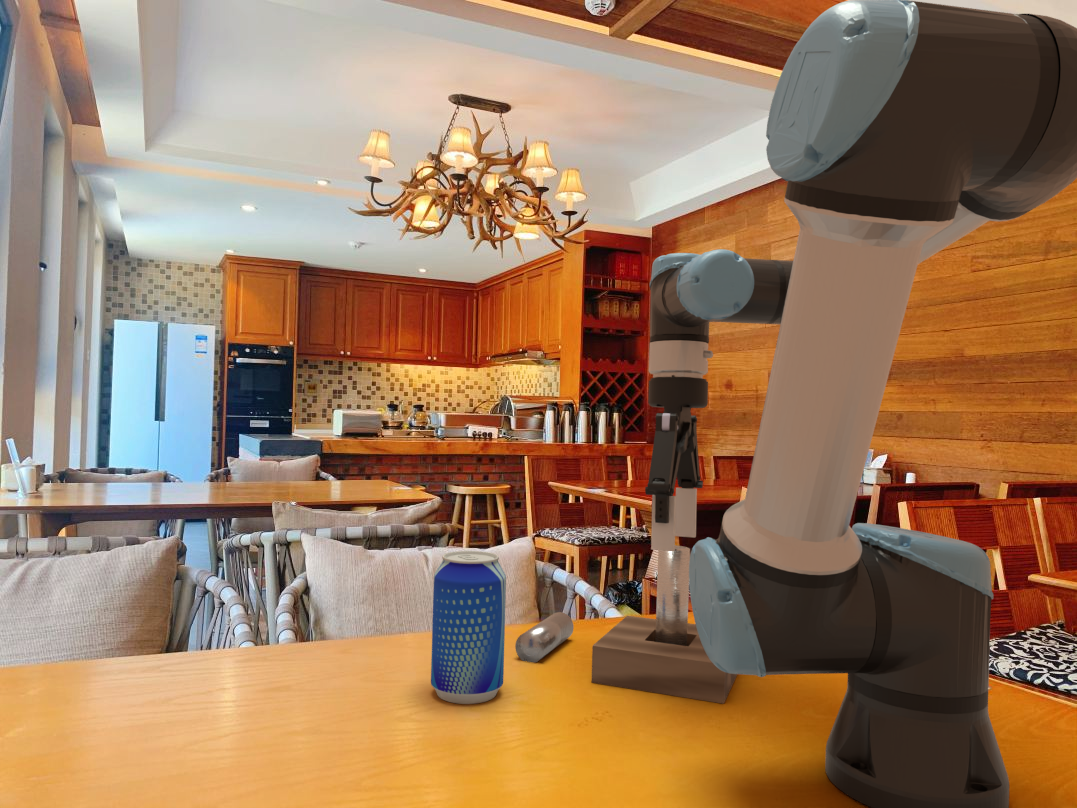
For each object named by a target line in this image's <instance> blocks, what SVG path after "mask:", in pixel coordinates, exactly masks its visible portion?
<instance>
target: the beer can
mask: <svg viewBox="0 0 1077 808" xmlns="http://www.w3.org/2000/svg"><path fill="white" fill-rule="evenodd" d="M499 559H500V556H499V555H498V554H497V553H493V552H489V551H482V550H459V551H456V550H455V551H450V552H447V553H444V554H443V555H442V561H441V563H440V564H439V566H438V567H437V569H436V571H435V572H434V574H433V590H432V591H433V592H432V593H433V594H432V596H433V597H432V628H431V629H432V630H431V631H432V632H431V634H432V635H431V660H430V661H431V663H430V665H431V667H430V671H431V672H430V685H431V687H432V688H433V689H434V690H435V692H436V694H437V697H438V698H439V699H441V700H442V701H445V702H448V703H452V704H458V705H459V704H460V705H461V704H462V705H473V704H479V703H485V702H488V701H490V700H492V699H494V698H495V697H496V696H497V694H498V691H499V690H500V689H501V688H502V686H503V685H504V672H505V671H504V670H505V669H504V667H505V666H504V665H505V636H506V633H505V630H506V629H505V628H506V599H507V598H506V597H507V595H506V594H507V574H506V572H505V570H504V569H503V567H502V565H501V563H500V561H499Z"/></svg>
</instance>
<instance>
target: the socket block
mask: <svg viewBox="0 0 1077 808" xmlns="http://www.w3.org/2000/svg"><path fill="white" fill-rule="evenodd" d="M655 638H656V618H649V617H641V616H633V615H626V616H625V617H624V618H622V620H620V621H619V622H618V623H617V624H616V625H615V626H613V628H611V629H609V631H608V632H607V633H605V634H603V636H602V637H600V639H598V640H597V641H596V642H595V643H593V645H592V648H591V649H592V651H591V653H592V655H591V683H592V684H593V683H594V684H598V685H599V684H600V685H605V686H611V687H618V688H625V689H631V690H636V691H643V692H648V693H649V692H650V693H653V694H656V693H657V694H662V695H667V696H673V697H679V698H680V697H681V698H686V699H693V700H700V701H705V702H711V703H717V704H718V703H719V704H722V705H723V704H725V702H726V700H727V698H728V695H729V693H730V691H731V689H732V687H733V684H734V683H735V681H736V678H737V676H738V674H730V673H726V672H724V671H721V670H720V669H718V668H717V667H716V666H715V665H714V664H713V663H712V662H711V660H710V659H709V657H708V656H707V654H706V652H705V650H704V648H703V646H702V643H701V640H700V637H699V634H698V631H697V628H696V624H695V623H688V627H687V646H682V645H675V644H667V643H660V642H655Z"/></svg>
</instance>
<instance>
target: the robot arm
mask: <svg viewBox="0 0 1077 808" xmlns="http://www.w3.org/2000/svg"><path fill="white" fill-rule="evenodd" d="M765 136H766V138H767V140H768V142H767V145H766V148H765V150H766V157H767V161H768V164H769V167H770V169H771V170H772V171H773V173H774V174H775V175H777V176H778V177H779V178H781V179H783V180H784V181H786V182H787V183H786V189H785V194H784V198H783V199H784V200H783V202H784V203H785V204H786V207H788V209H789V210H790V212H791V213H792V215H793V216H794V217H795V218H796V220H797V223H798V225H799V231H798V237H797V240H796V241H797V242H796V246H795V253H794V256H793V260H788V259H787V260H783V259H763V258H762V259H761V258H747V257H745V258H744V257H742V256H741V255H740V254H738V253H736V252H735V251H732V250H729V249H725V248H723V249H722V248H721V249H713V250H710V251H706V252H703V253H702V254H698V253H691V252H675V253H674V252H673V253H668V254H666V255H665V254H664V255H660V256H658V257H657V258H655V260H654V261H653V262H652V266H651V275H650V276H651V277H650V281H649V291H650V305H649V306H650V313H649V315H650V317H649V318H650V319H649V322H650V323H649V346H648V347H649V350H648V351H649V353H648V355H649V356H648V357H649V358H648V373H649V374H650V375H652V377H650V380H648V398H647V399H648V405H649V406H650V407H652V408H663V412H657V413H656V414H655V432H654V439H653V446H652V454H651V460H650V461H651V462H650V469H649V475H648V482H647V486H645V489H644V491H645V492H644V494H645V495H646V496H651V497H652V498H651V499H652V500H651V537H650V539H651V541H650V545H651V547H650V550H653V551H658V550H663V551H675V545H676V537H681V538H682V537H683V538H693V539H694V538H696V537H697V502H698V501H697V499H698V495H697V494H698V489H703V487H704V481H703V480H701V476H700V475H701V474H700V462H699V459H700V458H699V449H698V448H699V447H698V434H697V433H698V432H697V430H698V429H697V424H698V423H697V422H698V418H697V415H692V412H691V411H692V409H703V408H706V407H707V405H708V402H709V400H708V399H709V381H707V379H706V378H704V376H705V375H707V374H708V373H709V361H708V359H712V358H713V357H714V353H713V351H712V350H709V344H710V323H731V324H733V323H734V324H735V323H736V324H760V325H779V330H778V335H777V341H776V345H775V351H774V356H773V360H772V365H771V370H770V375H769V380H768V385H767V388H766V389H767V390H766V395H765V399H764V405H763V409H762V413H761V420H760V424H759V428H758V433H757V439H756V444H755V448H754V453H753V458H752V462H751V468H750V473H749V478H748V482H747V483H748V484H747V486H746V487H747V489H746V494H745V497H744V499H742V500H739V502H736V503H734V504H732V505H731V506H730V507H729V508H728V509H726V510H725V512H724V514H723V517H722V520H721V526H720V532H719V535H718V538H717V539H715V538H713V537H709V536H708V537H706V538H704V539H700V540H698V541H696V543H695V544H694V545H693V547H692V548H691V550H690V561H689V596H690V601H691V602H690V603H691V609H692V613H693V614H692V615H693V619H694V624H696V628H697V631H698V634H699V637H700V640H701V643H702V646H703V648H704V650H705V652H706V654H707V656H708V657H709V659H710V660H711V662H712V663H713V664H714V665H715V666H716V667H717V668H718V669H720V670H721V671H724V672H726V673H730V674H737V675H744V676H745V675H746V676H757V677H759V678H764V677H766V676H772V675H773V676H775V675H778V676H779V675H781V676H782V675H810V674H811V675H813V674H814V675H815V674H818V675H819V674H820V675H821V674H823V675H824V674H826V675H829V674H830V675H831V674H847V687H846V691H845V694H844V696H843V699H842V701H841V705H840V707H839V709H838V713H837V715H836V718H835V721H834V723H833V725H832V727H831V730H830V733H829V736H828V739H827V741H826V746H825V766H824V767H825V773H826V775H827V778H828V779H829V780H830V782H831V783H832V785H834V786H835V787H836V788H838V790H840V791H842V793H844V794H845V795H846V796H849V797H850V798H852V799H853V800H855V801H857V802H859V803H861V804H864V805H866V806H867V807H870V808H1009V806H1010V780H1009V775H1008V772H1007V768H1006V766H1005V763H1004V760H1003V756H1002V753H1001V750H1000V747H999V743H998V741H997V738H996V733H995V732H994V728H993V724H992V722H991V719H990V718H991V717H990V715H989V688H990V687H989V684H990V682H989V681H990V678H989V677H990V644H991V643H990V641H991V638H990V637H991V612H992V611H991V610H992V600H994V593H993V591H992V590H993V588H992V574H991V573H992V572H991V562H990V558H989V556H988V555H987V553H986V552H985V551H984V550H983V549H982V548H981V547H979V546H978V545H976V544H974V543H971V542H969V541H964V540H961V539H958V538H957V539H956V538H951V537H948V536H944V535H938V534H933V533H930V532H923V531H919V530H913V529H908V528H902V527H896V526H889V525H882V524H875V523H867V522H865V523H864V522H857V523H855V524H853V525H852V527H851V525H850V524H851V519H852V515H853V511H854V507H855V503H856V500H857V496H858V493H859V489H860V485H861V481H862V477H863V475H864V474H863V473H864V470H865V465H866V462H867V460H868V459H867V458H868V454H869V450H870V447H871V443H872V439H873V435H874V431H875V428H876V424H877V420H878V416H879V413H880V410H881V409H880V408H881V405H882V401H883V397H884V394H885V390H886V387H887V382H888V379H889V375H890V372H891V367H892V363H893V360H894V356H895V352H896V348H897V344H898V341H899V337H900V333H901V330H902V326H903V325H902V324H903V322H904V318H905V314H906V310H907V307H908V303H909V299H910V295H911V292H912V288H913V284H914V279H915V276H916V272H917V268H918V266H919V264H921V263H923V262H925V261H926V260H928V259H930V257H932V256H934V255H936V254H938V253H939V252H941V251H942V250H944V249H945V248H947V247H949V246H951V245H952V244H954V243H955V242H957V241H959V240H960V239H962V238H964V237H965V236H967V235H969V234H971V232H974V231H975V230H977V229H978V228H980V227H981V226H983V225H985V224H986V223H988V222H1007V221H1012V220H1015V219H1018V218H1020V217H1022V216H1024V215H1027V214H1028V213H1029V212H1031V211H1032V210H1034V209H1036V208H1037V207H1039V206H1042V205H1044V204H1045V203H1047V202H1048V201H1049V200H1051V199H1053V198H1054V197H1055V196H1057V195H1058V194H1059V193H1061V192H1062V191H1063V190H1065V189H1066V188H1067V187H1068V186H1070V185H1071V184H1072V183H1073V182H1074V181H1076V180H1077V27H1075V26H1073V25H1072V24H1069V23H1068V22H1065V21H1063V20H1061V19H1060V18H1055V17H1052V16H1047V15H1041V14H1035V13H1034V14H1033V13H1019V14H1018V13H1011V12H1004V11H1003V12H1002V11H996V10H995V11H994V10H987V9H978V8H972V7H971V8H969V7H963V6H957V5H955V6H954V5H948V4H947V5H946V4H941V3H940V4H939V3H933V2H932V3H931V2H924V1H916V0H845V1H842V2H839V3H836V4H835V5H833V6H831V7H829V8H828V9H826V10H825V11H823V12H822V13H821V14H819V16H818V17H816V18H815V19H814V20H813V21H812V22H811V23H810V24H809V26H808V27H807V28H806V30H805V31H804V32H803V34H802V36H801V37H800V38H799V40H798V41H797V42H796V44H795V45H794V47H793V49H792V50H791V52H790V55H789V56H788V58H787V60H786V62H785V64H784V67H783V68H782V72H781V74H780V76H779V79H778V81H777V84H776V87H775V90H774V93H773V96H772V100H771V104H770V108H769V113H768V118H767V122H766V133H765ZM676 481H677V486H678V487H676V488H675V486H676ZM674 493H675V495H674Z"/></svg>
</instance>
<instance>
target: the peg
mask: <svg viewBox="0 0 1077 808" xmlns="http://www.w3.org/2000/svg"><path fill="white" fill-rule="evenodd" d="M657 552H658V553H657V578H656V580H657V581H656V583H657V585H656V610H655V611H656V612H655V619H656V638H655V642H660V643H667V644H675V645H682V646H687V627H688V621H689V596H690V586H689V561H690V554H691V548H690V547H687V546H682V545H676V544H675V551H663V550H657Z"/></svg>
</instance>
